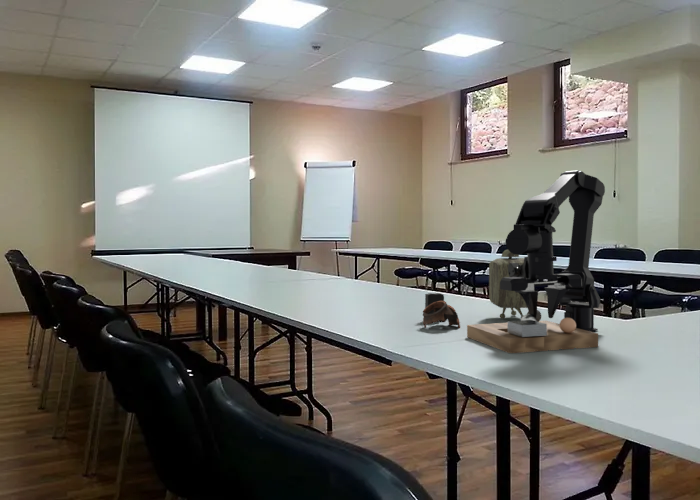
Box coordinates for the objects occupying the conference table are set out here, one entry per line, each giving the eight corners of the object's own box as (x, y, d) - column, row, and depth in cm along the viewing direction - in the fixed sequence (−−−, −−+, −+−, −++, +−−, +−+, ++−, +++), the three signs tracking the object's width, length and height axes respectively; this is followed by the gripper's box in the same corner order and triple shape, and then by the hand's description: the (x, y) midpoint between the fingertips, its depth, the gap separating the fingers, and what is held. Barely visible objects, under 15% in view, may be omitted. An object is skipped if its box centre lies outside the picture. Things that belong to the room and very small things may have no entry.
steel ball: (533, 320, 140) (524, 310, 139) (542, 322, 137) (533, 312, 136) (523, 331, 140) (515, 320, 139) (532, 333, 136) (523, 323, 135)
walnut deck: (545, 332, 151) (545, 320, 150) (598, 346, 131) (598, 333, 131) (467, 337, 145) (467, 324, 145) (509, 353, 126) (509, 339, 125)
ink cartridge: (440, 319, 173) (441, 292, 173) (443, 321, 171) (444, 293, 171) (424, 320, 172) (425, 293, 172) (427, 321, 170) (428, 293, 170)
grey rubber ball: (536, 321, 149) (536, 307, 149) (544, 323, 146) (544, 309, 145) (523, 322, 148) (523, 308, 148) (531, 324, 145) (531, 310, 144)
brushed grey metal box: (531, 330, 134) (531, 319, 134) (546, 335, 128) (546, 323, 128) (507, 332, 132) (507, 321, 132) (522, 336, 126) (522, 325, 126)
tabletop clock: (531, 322, 166) (531, 233, 165) (499, 322, 166) (499, 234, 166) (517, 315, 181) (517, 233, 180) (488, 315, 181) (488, 233, 180)
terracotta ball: (569, 331, 134) (569, 316, 134) (579, 334, 131) (579, 318, 131) (556, 332, 133) (556, 316, 133) (565, 334, 130) (565, 319, 130)
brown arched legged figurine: (465, 332, 155) (452, 306, 153) (433, 347, 156) (419, 321, 154) (458, 314, 166) (446, 289, 164) (428, 328, 168) (415, 304, 166)
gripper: (553, 250, 148) (555, 311, 149) (487, 253, 143) (489, 317, 144) (582, 250, 138) (584, 317, 138) (511, 254, 133) (513, 323, 133)
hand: (542, 318), depth 139 cm, fingers open, 4 cm apart
